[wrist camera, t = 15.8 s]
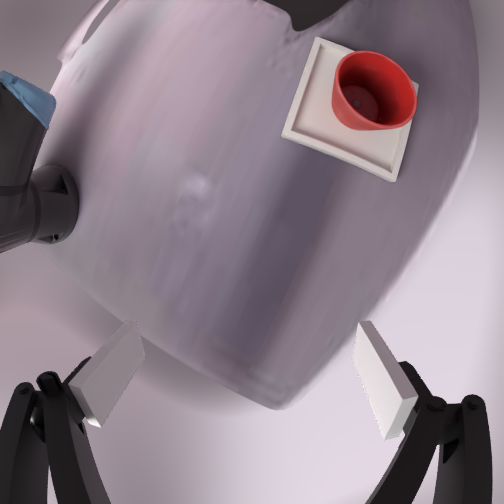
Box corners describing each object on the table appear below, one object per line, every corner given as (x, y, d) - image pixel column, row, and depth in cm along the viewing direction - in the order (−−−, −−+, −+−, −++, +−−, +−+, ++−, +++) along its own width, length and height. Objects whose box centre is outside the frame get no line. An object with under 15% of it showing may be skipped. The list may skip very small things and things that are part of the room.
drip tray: (280, 137, 37) (281, 134, 34) (313, 42, 32) (315, 36, 30) (389, 181, 37) (395, 182, 35) (412, 88, 32) (418, 84, 30)
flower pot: (347, 63, 32) (366, 35, 23) (399, 110, 33) (430, 95, 24) (306, 104, 34) (317, 81, 25) (362, 154, 36) (389, 147, 26)
